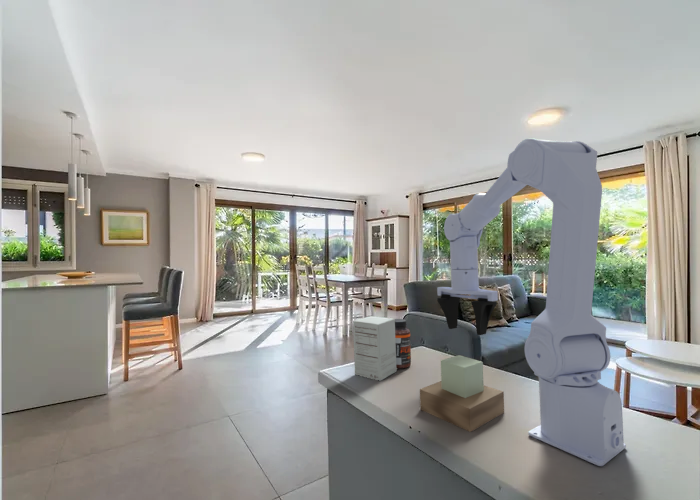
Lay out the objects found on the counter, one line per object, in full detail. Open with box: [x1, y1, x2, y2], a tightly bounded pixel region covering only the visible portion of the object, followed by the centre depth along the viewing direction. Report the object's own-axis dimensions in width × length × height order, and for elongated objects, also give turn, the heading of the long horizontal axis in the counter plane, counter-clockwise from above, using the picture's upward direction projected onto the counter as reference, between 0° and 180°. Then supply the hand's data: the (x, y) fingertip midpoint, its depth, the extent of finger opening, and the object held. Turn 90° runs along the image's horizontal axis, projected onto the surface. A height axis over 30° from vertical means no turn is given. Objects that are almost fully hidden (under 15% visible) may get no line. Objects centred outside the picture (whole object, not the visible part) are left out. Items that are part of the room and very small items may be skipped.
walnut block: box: [419, 380, 505, 433], centre depth 59 cm, size 10×10×4 cm
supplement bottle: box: [394, 318, 412, 369], centre depth 84 cm, size 6×6×11 cm
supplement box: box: [352, 315, 397, 382], centre depth 79 cm, size 7×7×13 cm
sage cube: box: [440, 355, 485, 398], centre depth 59 cm, size 5×5×5 cm
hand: (466, 331), depth 73 cm, fingers open, 7 cm apart
